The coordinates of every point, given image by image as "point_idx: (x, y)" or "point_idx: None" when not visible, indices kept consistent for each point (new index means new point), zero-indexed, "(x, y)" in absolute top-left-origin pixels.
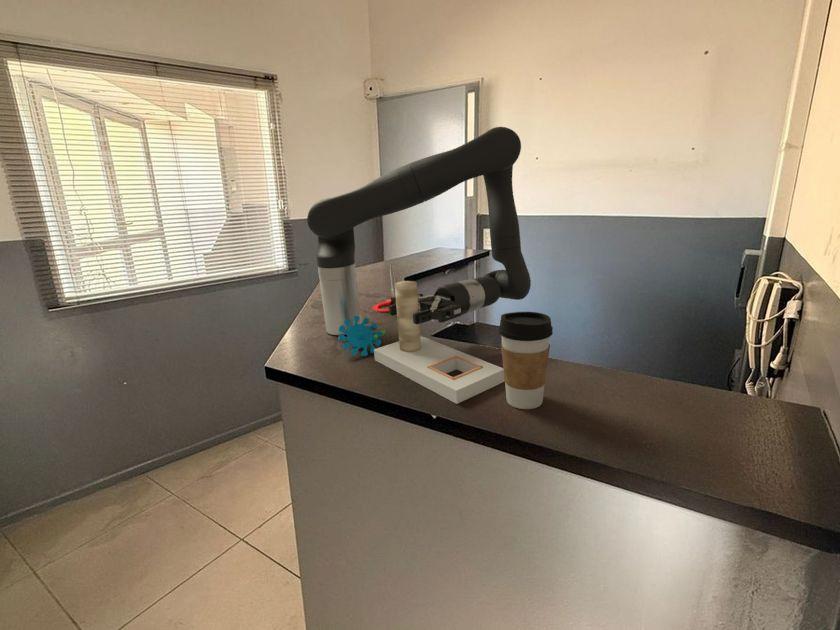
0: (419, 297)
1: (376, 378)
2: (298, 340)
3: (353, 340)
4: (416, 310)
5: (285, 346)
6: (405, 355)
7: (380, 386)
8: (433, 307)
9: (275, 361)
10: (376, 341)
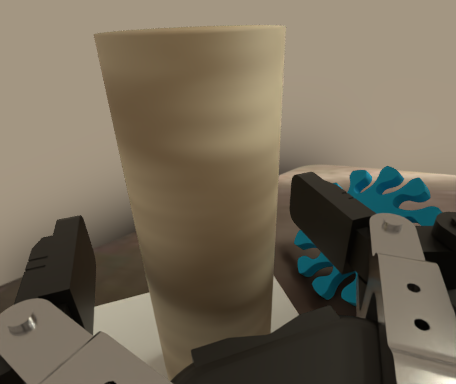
0: (413, 292)
1: (144, 274)
2: (445, 184)
3: None
4: (141, 242)
5: (405, 171)
6: (154, 332)
7: (96, 274)
8: (55, 342)
9: (325, 165)
10: (351, 283)
